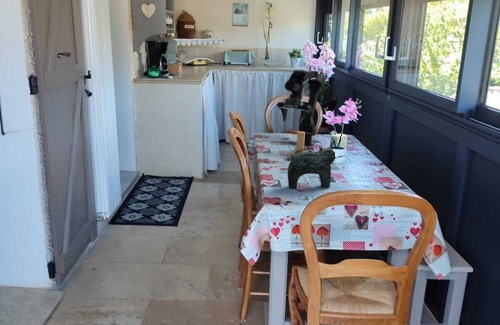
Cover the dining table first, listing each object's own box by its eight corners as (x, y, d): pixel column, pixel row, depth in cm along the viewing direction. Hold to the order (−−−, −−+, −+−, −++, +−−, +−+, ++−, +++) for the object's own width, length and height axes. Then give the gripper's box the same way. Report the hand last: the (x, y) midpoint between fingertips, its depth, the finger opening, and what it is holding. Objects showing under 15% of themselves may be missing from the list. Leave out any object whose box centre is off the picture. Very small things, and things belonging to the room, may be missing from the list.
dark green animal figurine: (330, 184, 195) (333, 139, 190) (335, 189, 189) (339, 143, 184) (285, 185, 192) (288, 139, 187) (289, 190, 186) (292, 143, 181)
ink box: (338, 154, 246) (340, 133, 243) (346, 156, 242) (348, 134, 239) (328, 156, 241) (330, 134, 237) (335, 158, 237) (337, 136, 234)
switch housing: (291, 152, 245) (292, 146, 244) (310, 154, 243) (310, 148, 242) (286, 160, 230) (287, 154, 229) (306, 162, 228) (306, 156, 227)
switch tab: (296, 152, 240) (298, 131, 237) (303, 152, 240) (304, 131, 236) (296, 153, 238) (297, 132, 235) (302, 153, 237) (304, 132, 234)
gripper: (274, 89, 238) (269, 119, 239) (306, 93, 229) (301, 123, 230) (283, 93, 248) (278, 121, 249) (314, 96, 239) (309, 125, 240)
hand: (291, 122), depth 242 cm, fingers open, 9 cm apart
